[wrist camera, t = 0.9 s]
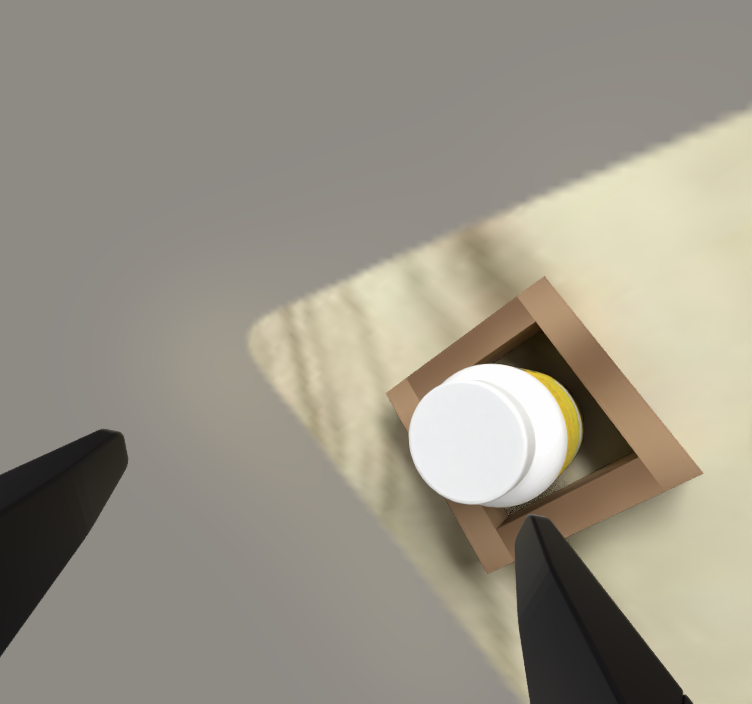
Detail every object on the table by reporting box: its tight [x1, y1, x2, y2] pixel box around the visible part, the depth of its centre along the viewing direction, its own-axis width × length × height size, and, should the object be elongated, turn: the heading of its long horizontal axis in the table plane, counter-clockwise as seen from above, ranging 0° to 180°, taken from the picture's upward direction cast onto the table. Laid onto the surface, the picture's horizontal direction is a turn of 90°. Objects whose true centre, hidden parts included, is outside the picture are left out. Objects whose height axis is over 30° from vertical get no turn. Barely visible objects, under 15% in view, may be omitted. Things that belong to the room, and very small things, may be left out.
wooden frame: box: [386, 276, 704, 574], centre depth 21 cm, size 10×10×2 cm
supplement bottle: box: [409, 364, 584, 508], centre depth 18 cm, size 5×5×10 cm
